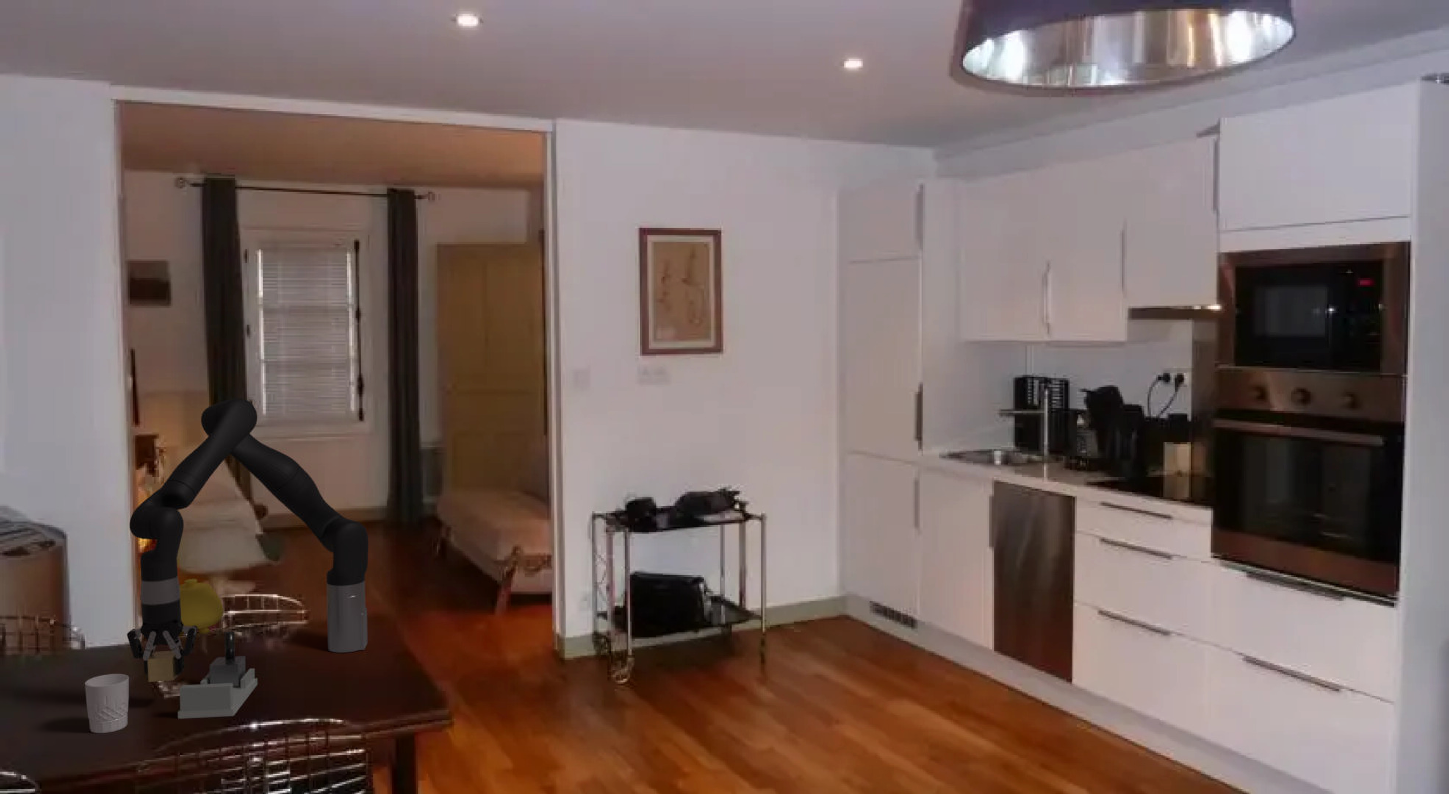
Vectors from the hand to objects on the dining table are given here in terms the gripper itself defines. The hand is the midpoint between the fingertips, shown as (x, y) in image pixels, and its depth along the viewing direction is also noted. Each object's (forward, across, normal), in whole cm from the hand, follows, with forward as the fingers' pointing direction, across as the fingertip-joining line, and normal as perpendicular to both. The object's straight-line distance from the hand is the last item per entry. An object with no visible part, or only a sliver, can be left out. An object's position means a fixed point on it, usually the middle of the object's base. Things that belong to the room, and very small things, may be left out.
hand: (164, 674), depth 238 cm
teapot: (+8, +14, -60) cm, 62 cm away
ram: (+6, -10, -9) cm, 15 cm away
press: (+7, -10, -2) cm, 13 cm away
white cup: (+7, +8, +11) cm, 15 cm away
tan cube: (+1, 0, 0) cm, 1 cm away
